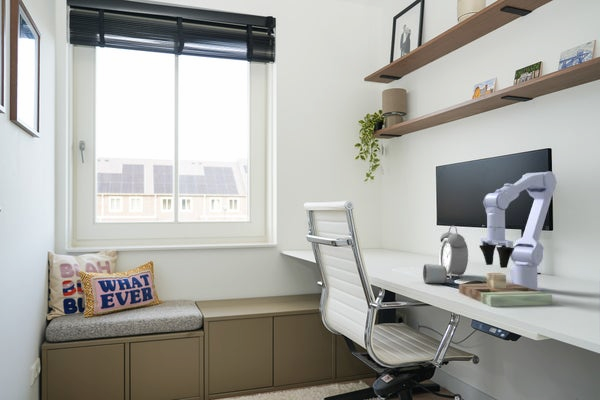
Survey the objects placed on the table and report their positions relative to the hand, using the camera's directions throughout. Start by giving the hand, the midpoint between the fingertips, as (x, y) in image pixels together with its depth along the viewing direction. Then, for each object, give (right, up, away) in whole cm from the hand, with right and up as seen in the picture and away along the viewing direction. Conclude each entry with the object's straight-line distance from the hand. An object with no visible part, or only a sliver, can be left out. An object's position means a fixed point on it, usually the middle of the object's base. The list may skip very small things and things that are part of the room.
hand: (496, 266), depth 162 cm
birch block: (-2, -7, -4) cm, 8 cm away
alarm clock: (-3, -10, +37) cm, 39 cm away
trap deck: (-1, -9, -8) cm, 12 cm away
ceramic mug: (-15, -10, +23) cm, 30 cm away
